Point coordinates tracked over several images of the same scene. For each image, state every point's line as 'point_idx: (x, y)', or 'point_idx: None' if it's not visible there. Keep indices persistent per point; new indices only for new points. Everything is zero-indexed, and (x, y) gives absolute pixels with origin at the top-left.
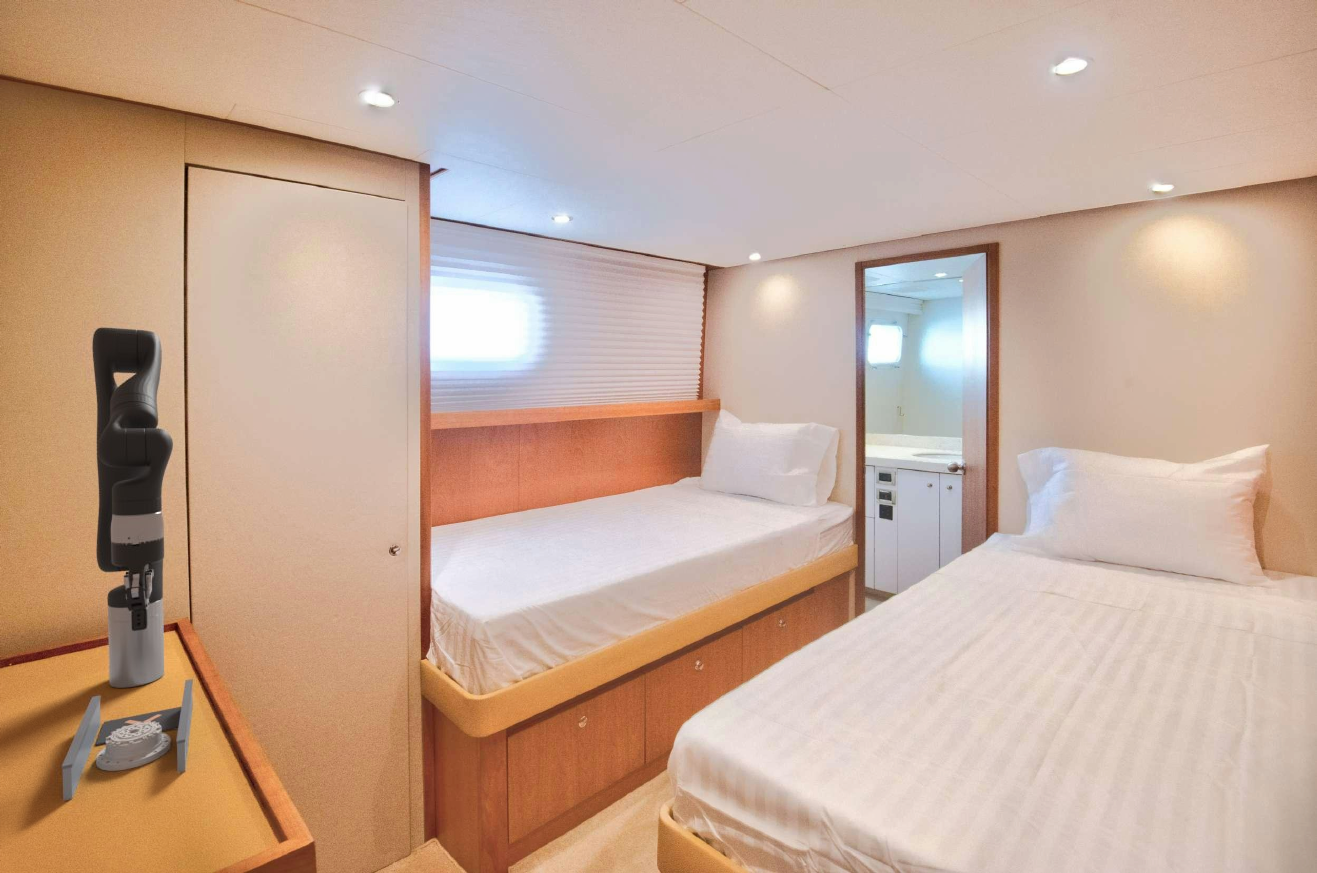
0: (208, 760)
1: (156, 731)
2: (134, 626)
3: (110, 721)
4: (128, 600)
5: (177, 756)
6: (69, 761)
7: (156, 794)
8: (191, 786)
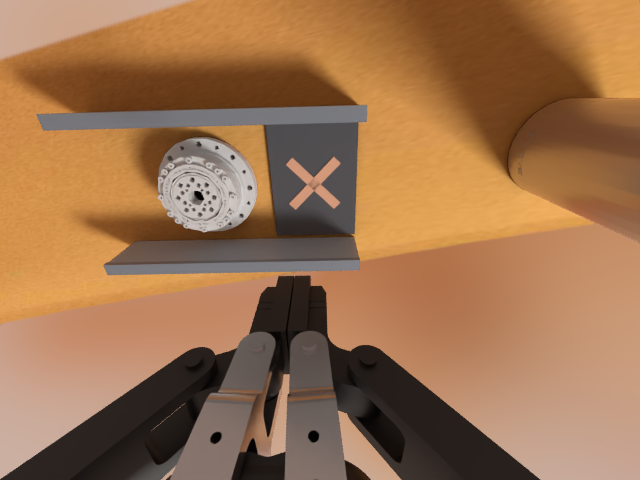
0: None
1: (188, 227)
2: (262, 294)
3: (352, 133)
4: (73, 436)
5: (120, 253)
6: (55, 123)
7: (85, 223)
8: (97, 256)
